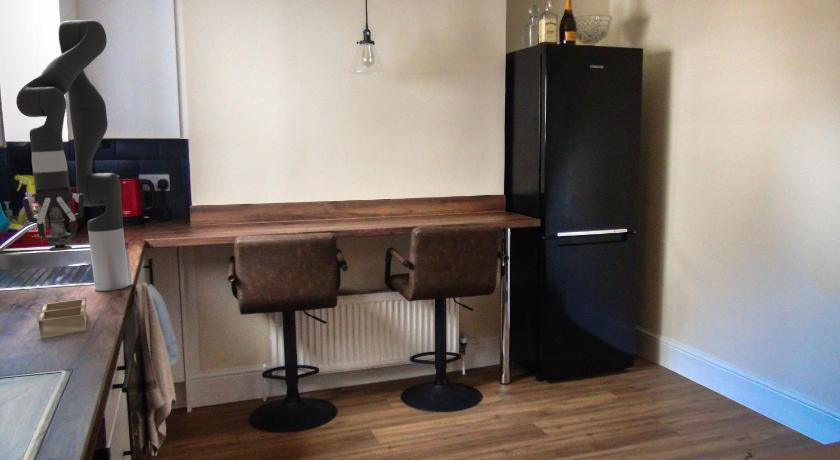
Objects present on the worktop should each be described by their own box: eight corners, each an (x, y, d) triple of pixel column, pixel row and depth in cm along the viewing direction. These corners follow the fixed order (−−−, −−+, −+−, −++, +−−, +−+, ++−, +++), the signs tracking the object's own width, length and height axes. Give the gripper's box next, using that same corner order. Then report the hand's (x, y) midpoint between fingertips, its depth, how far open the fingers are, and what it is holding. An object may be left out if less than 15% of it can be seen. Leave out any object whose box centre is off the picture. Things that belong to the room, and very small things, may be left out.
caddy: (46, 319, 166) (44, 303, 166) (86, 314, 170) (85, 298, 170) (40, 338, 151) (38, 321, 150) (85, 331, 155) (83, 314, 154)
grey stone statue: (78, 247, 173) (72, 200, 171) (55, 251, 168) (49, 203, 166) (64, 246, 176) (58, 199, 174) (42, 250, 171) (35, 202, 169)
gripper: (15, 172, 162) (24, 242, 165) (82, 168, 168) (90, 235, 171) (18, 170, 169) (27, 237, 172) (82, 167, 175) (90, 231, 177)
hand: (58, 236), depth 171 cm, fingers closed on grey stone statue, 6 cm apart
